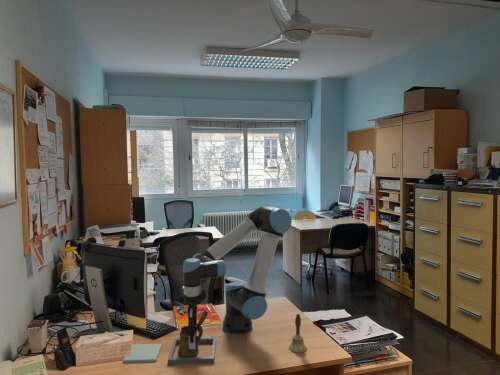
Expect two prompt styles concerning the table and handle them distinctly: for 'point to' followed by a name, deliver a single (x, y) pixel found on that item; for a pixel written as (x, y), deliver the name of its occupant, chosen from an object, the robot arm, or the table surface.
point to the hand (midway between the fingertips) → (193, 344)
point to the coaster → (144, 353)
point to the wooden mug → (184, 339)
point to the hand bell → (297, 338)
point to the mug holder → (192, 360)
